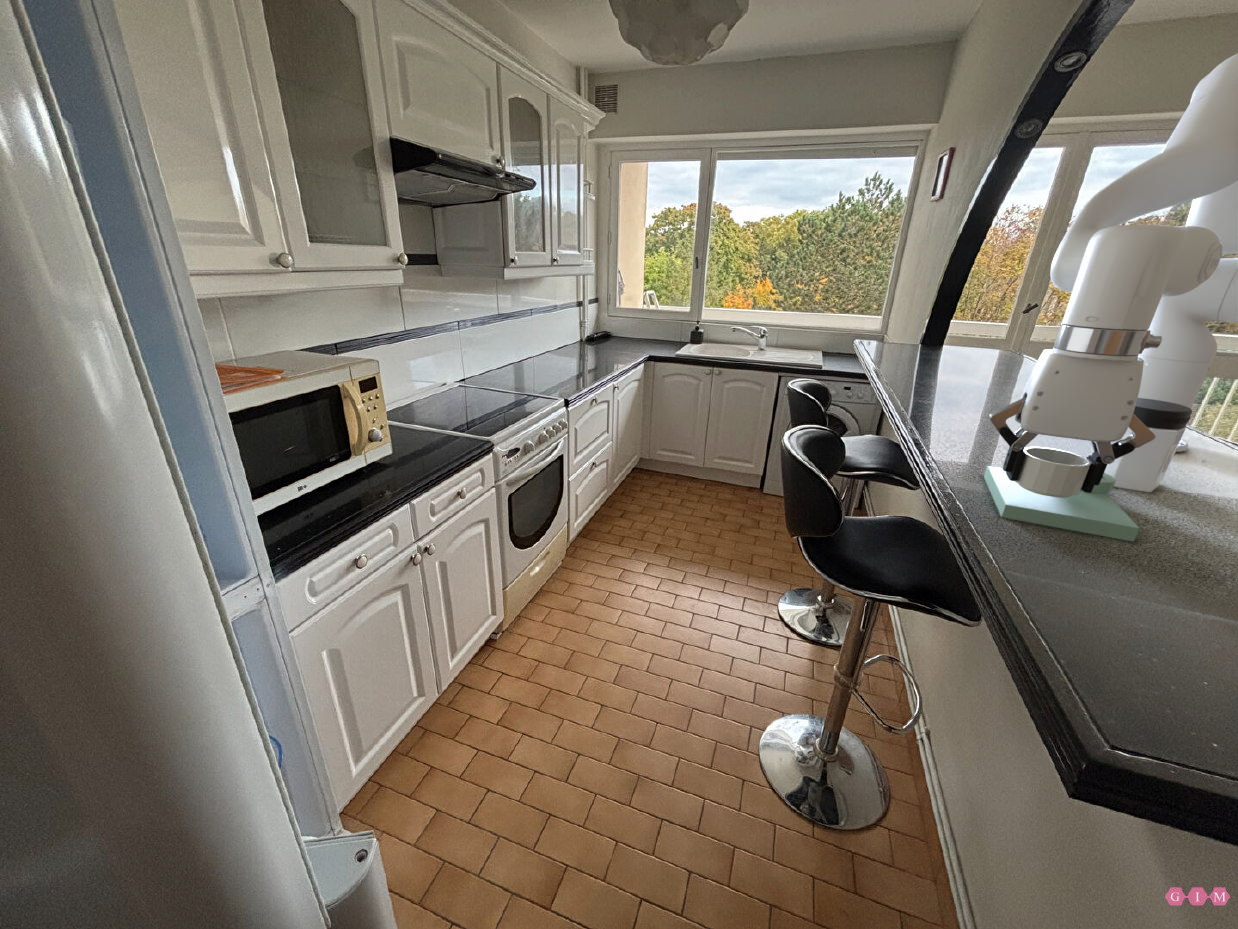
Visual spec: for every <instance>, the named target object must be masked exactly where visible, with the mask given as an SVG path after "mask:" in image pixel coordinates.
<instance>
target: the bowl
mask: <svg viewBox="0 0 1238 929" xmlns="http://www.w3.org/2000/svg"><path fill="white" fill-rule="evenodd" d="M1024 452H1025V453H1026V456H1025V459H1024V462H1023V465H1022V468H1021V471H1020V474H1019V477H1018V480H1015V482H1016V483H1018V484H1019V486H1021V487H1022V488H1024V489H1026V490H1028V491H1031V492H1034V493H1037V494H1041V495H1045V496H1050V497H1059V498H1065V497H1070V496H1074V495H1079V493H1080V492H1081V490H1082V487H1083V484H1084V482H1085V479H1086V477H1087V474H1088V472H1089V469H1090V467H1091V464H1092V462H1091V461H1090V460H1089V459H1087V458H1086V457H1085V456H1083V455H1080V454H1077V453H1074V452H1070V451H1067V450H1062V449H1057V448H1052V447H1042V446H1028V447H1025V448H1024Z"/></svg>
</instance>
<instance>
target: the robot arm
mask: <svg viewBox="0 0 1238 929" xmlns="http://www.w3.org/2000/svg"><path fill="white" fill-rule="evenodd" d="M1190 201H1192V203H1191V207H1190V210H1189V214H1188V217H1187V220H1186V223H1185V225H1180V226H1177V225H1169V224H1126V225H1125V223H1127V222H1129V221H1131V220H1134V219H1137V218H1139V217H1142V216H1145V215H1148V214H1151V213H1154V212H1157V211H1161V210H1165V209H1168V208H1172V207H1175V206H1179V205H1181V204H1184V203H1188V202H1190ZM1123 224H1124V225H1123ZM1224 254H1225V255H1229V254H1231V255H1233V254H1235V255H1236V254H1237V255H1238V52H1237V53H1236V54H1234V55H1232V56H1230V57H1228V58H1226V59H1225V60H1223V61H1222V62H1220V63H1219V64H1218V65H1216V67H1214V68H1213V69H1212V71H1210V72H1209V73H1208V74H1206V76H1204V77H1203V78H1202V79H1201V80H1200V81H1199V82H1198V83H1197V84H1196V86H1195V87H1194V90H1193V92H1192V94H1191V98H1190V102H1189V105H1188V106H1187V108H1186V109H1185V111H1184V113H1183V115H1182V116H1181V117H1180V119H1179V121H1178V123H1177V125H1176V126H1175V128H1174V129H1173V131H1172V133H1171V135H1170V137H1169V139H1168V140H1167V141H1166V143H1165V145H1164V147H1163V149H1162V150H1161V152H1160V153H1159V154H1157V155H1155V156H1153V157H1151V158H1149V159H1147V160H1145V161H1144V162H1142V163H1141V164H1139V165H1137V166H1135V167H1133V168H1132V169H1130V170H1129V171H1127V172H1125V173H1124V174H1122V175H1120V176H1119V177H1118V178H1115V180H1113V181H1111V182H1110V183H1108V184H1107V185H1105V186H1104V187H1103V188H1101V189H1100V190H1099V191H1097V192H1096V193H1095V194H1094V195H1093V196H1092V197H1090V199H1089V200H1088V201H1086V203H1084V205H1083V206H1082V207H1081V208H1080V210H1079V212H1077V215H1076V216H1075V218H1074V220H1073V221H1072V222H1071V225H1070V226H1069V228H1068V229H1067V231H1066V233H1065V234H1064V236H1063V238H1062V240H1061V242H1060V244H1059V245H1058V247H1057V249H1056V251H1055V253H1054V256H1053V259H1052V261H1051V265H1050V270H1049V271H1050V272H1049V273H1050V274H1049V276H1050V281H1051V283H1052V284H1053V286H1054V287H1055V288H1057V289H1059V290H1060V291H1063V292H1066V293H1070V297H1069V300H1068V302H1067V305H1066V308H1065V311H1064V314H1063V318H1062V320H1061V324H1060V326H1059V329H1058V331H1057V335H1056V338H1055V341H1054V344H1053V348H1052V349H1043V351H1042V352H1041V353H1040V355H1039V357H1038V358H1037V361H1036V363H1035V364H1034V366H1033V368H1032V370H1031V372H1030V374H1029V377H1028V379H1027V382H1026V384H1025V386H1024V388H1023V390H1022V391H1023V392H1022V393H1021V396H1020V398H1019V399H1018V400H1016V401H1014V402H1011V403H1010V404H1007V405H1006V406H1003V407H1001V408H999V409H997V410H995V411H993V412H991V413H990V414H989V415H988V419H989V420H990V422H991V423H992V425H993V426H994V427H995V429H996V430H997V432H998V433H999V435H1000V437H1001V438H1002V439H1003V441H1005V442H1006V444H1007V445H1008V450H1007V452H1006V456H1005V459H1004V462H1003V466H1002V468H1003V471H1006V474H1007V476H1008V478H1009V480H1011V481H1015V480H1018V477H1019V474H1020V471H1021V468H1022V465H1023V462H1024V459H1025V456H1026V453H1025V452H1024V448H1026V447H1027V446H1028V445H1029V444H1030V443H1031V442H1032V441H1033V440H1034V439H1035V438H1036V437H1037V436H1038V435H1041V436H1050V437H1056V438H1063V439H1064V438H1065V439H1072V440H1079V441H1088V442H1090V444H1091V447H1092V448H1091V449H1093V451H1094V453H1092V455H1090V454H1089V455H1088V456H1086V457H1085V458H1087V459H1089V460H1090V461H1091V462H1092V464H1091V467H1090V469H1089V472H1088V474H1087V477H1086V479H1085V482H1084V484H1083V487H1082V490H1083V491H1084V492H1086V493H1091V492H1092V490H1093V487H1094V485H1097V486H1098V485H1099V484H1100V481H1101V479H1102V476H1103V474H1104V472H1105V469H1106V467H1107V464H1111V463H1113V462H1114V460H1115V459H1117V458H1119V457H1122V456H1124V455H1126V454H1128V453H1131V452H1132V451H1133V450H1134V449H1135V448H1137V447H1138V448H1139V447H1140V446H1142V445H1144V444H1146V443H1148V442H1150V441H1152V440H1153V439H1155V434H1154V433H1153V432H1152V431H1151V430H1150V429H1149V428H1148V427H1147V426H1146V425H1145V424H1144V423H1143V422H1142V421H1141V420H1140V419H1139V418H1138V417H1137V416H1135V415H1134V414H1133V412H1134V409H1135V406H1136V402H1137V399H1138V398H1145V399H1153V400H1160V401H1165V402H1171V403H1175V404H1179V405H1183V406H1186V407H1188V408H1190V409H1192V408H1193V407H1194V406H1193V405H1194V404H1195V402H1196V399H1197V397H1198V394H1199V392H1200V390H1201V388H1202V386H1203V384H1204V381H1205V379H1206V378H1207V375H1208V373H1209V371H1210V369H1211V366H1212V364H1213V362H1214V360H1215V358H1216V356H1217V352H1218V342H1217V340H1216V338H1215V336H1214V335H1213V334H1212V331H1211V330H1210V329H1209V328H1208V326H1207V324H1206V322H1229V323H1238V258H1237V257H1236V258H1222V255H1224ZM1012 417H1014V421H1015V422H1017V423H1018V424H1020V427H1019V428H1018V429H1017V430H1015V432H1014V431H1012V429H1011V428H1010V427H1009V425H1008V423H1007V420H1008V419H1010V418H1012ZM1128 428H1129V429H1130V430H1131V431H1132V434H1131V435H1130V436H1128V437H1127V438H1126V439H1124V440H1120V439H1121V438H1122V437H1123V436H1124V434H1125V433H1126V431H1127V429H1128ZM1118 440H1119V441H1118ZM1114 441H1117V442H1115V443H1113V444H1111V442H1114ZM1188 446H1189V443H1188V442H1187V441H1186V440H1184V439H1183V438H1181V440H1180V442H1179V444H1178V446H1177V449H1176V452H1175V453H1181V452H1184V451H1186V450H1187V448H1188Z"/></svg>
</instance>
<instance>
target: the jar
mask: <svg viewBox="0 0 1238 929" xmlns="http://www.w3.org/2000/svg"><path fill="white" fill-rule="evenodd" d="M1192 413H1193V409H1192V408H1191V409H1190V408H1188V407H1186V406H1183V405H1179V404H1175V403H1171V402H1165V401H1160V400H1153V399H1145V398H1138V399H1137V402H1136V406H1135V409H1134V412H1133V414H1134V415H1135V416H1137V417H1138V418H1139V419H1140V420H1141V421H1142V422H1143V423H1144V424H1145V425H1146V426H1147V427H1148V428H1149V429H1150V430H1151V431H1152V432H1153V433H1154V434H1155V439H1153V440H1152V441H1150V442H1148V443H1146V444H1144V445H1142V446H1140V447H1139V448H1138V447H1137V448H1135V449H1134V450H1133V451H1132V452H1131V453H1128V454H1126V455H1124V456H1122V457H1119V458H1117V459H1115V460H1114V462H1113V463H1111V464H1107V467H1106V469H1105V472H1104V473H1106V474H1108V475H1111V476H1112V477H1113V478H1114V479H1115V480H1116V481H1115V484H1114V486H1113V488H1118V489H1124V490H1130V491H1131V490H1132V491H1136V492H1137V491H1138V492H1144V493H1152V492H1153V491H1154V490H1155V489H1157V488H1158V487H1160V486H1161V483H1162V481H1163V479H1164V477H1165V475H1166V472H1167V470H1168V468H1169V466H1170V464H1171V462H1172V460H1173V458H1174V456H1175V454H1176V453H1177V452H1176V449H1177V446H1178V444H1179V442H1180V440H1181V439H1183V436H1184V434H1185V431H1186V429H1187V425H1188V423H1189V422H1190V419H1191V418H1192V417H1191V415H1192ZM1131 434H1132V431H1131V430H1130V429H1129V428H1128V429H1127V431H1126V433H1125V434H1124V436H1123V437H1122V438H1121V439H1120V440H1124V439H1126V438H1127V437H1128V436H1130V435H1131ZM1118 441H1119V440H1118ZM1115 442H1117V441H1114V442H1111V444H1113V443H1115ZM1092 453H1094V451H1093V448H1091V451H1090V454H1089V455H1092Z"/></svg>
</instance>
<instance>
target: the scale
mask: <svg viewBox="0 0 1238 929" xmlns="http://www.w3.org/2000/svg"><path fill="white" fill-rule="evenodd" d="M983 478H984V481H985V483H986V485H987V488H988V490H989V492H990V494H991V497H992V499H993V501H994V504H995V505H996V508H997V511H998V513H999V515H1000V518H1004V519H1009V520H1015V521H1019V522H1020V521H1021V522H1026V523H1031V524H1037V525H1042V526H1046V527H1047V526H1048V527H1053V528H1057V529H1063V530H1068V531H1075V532H1079V533H1085V534H1090V535H1096V536H1101V537H1107V538H1112V539H1117V540H1123V541H1129V542H1133V543H1134V542H1135V540H1136V539H1137V536H1138V533H1139V532H1140V529H1141V527H1139V525H1137V523H1135V521H1134V520H1133V519H1132V518H1131V517H1130V516H1129V515H1128V513H1127V512H1126V511H1125V510H1123V509H1122V508H1121V506H1120V505H1119V504H1118V502H1116V500H1114V499H1113V498H1112V497H1111V496H1110V495H1109V494H1108V493H1110V492H1112V490H1113V489H1114V487H1113V486H1114V484H1115V481H1116V480H1115V479H1114V478H1113V477H1112V476H1111V475H1108V474H1106V473H1104V474H1103V476H1102V479H1101V481H1100V484H1099V485H1098V486H1097V485H1094V487H1093V490H1092V492H1091V493H1086V492H1084V491H1083V490H1081V492H1080V493H1079V495H1074V496H1070V497H1065V498H1059V497H1050V496H1045V495H1041V494H1037V493H1034V492H1031V491H1028V490H1026V489H1024V488H1022V487H1021V486H1019V484H1018V483H1016V482H1015V481H1011V480H1009V478H1008V476H1007V474H1006V471H1003V467H998V466H991V465H987V466H986V468H985V471H984V475H983Z"/></svg>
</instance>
